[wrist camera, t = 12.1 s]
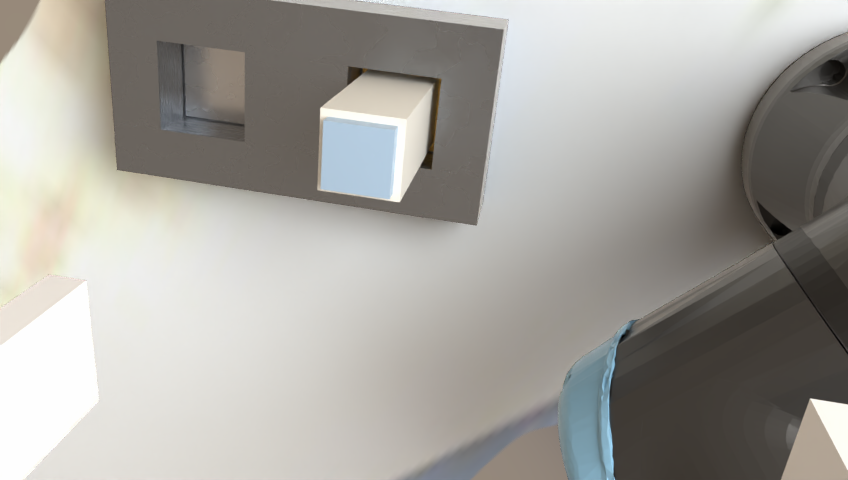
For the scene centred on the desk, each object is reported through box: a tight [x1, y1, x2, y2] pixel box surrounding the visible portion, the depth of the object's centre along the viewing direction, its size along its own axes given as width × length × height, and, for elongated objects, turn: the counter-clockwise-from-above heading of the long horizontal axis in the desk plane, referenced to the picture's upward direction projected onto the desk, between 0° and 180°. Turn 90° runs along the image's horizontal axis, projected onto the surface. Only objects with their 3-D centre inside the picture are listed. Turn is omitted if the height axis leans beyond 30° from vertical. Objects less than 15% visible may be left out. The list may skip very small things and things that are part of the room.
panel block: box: [105, 0, 509, 225], centre depth 48 cm, size 24×12×4 cm, turn 84°
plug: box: [317, 69, 439, 202], centre depth 43 cm, size 4×4×12 cm
